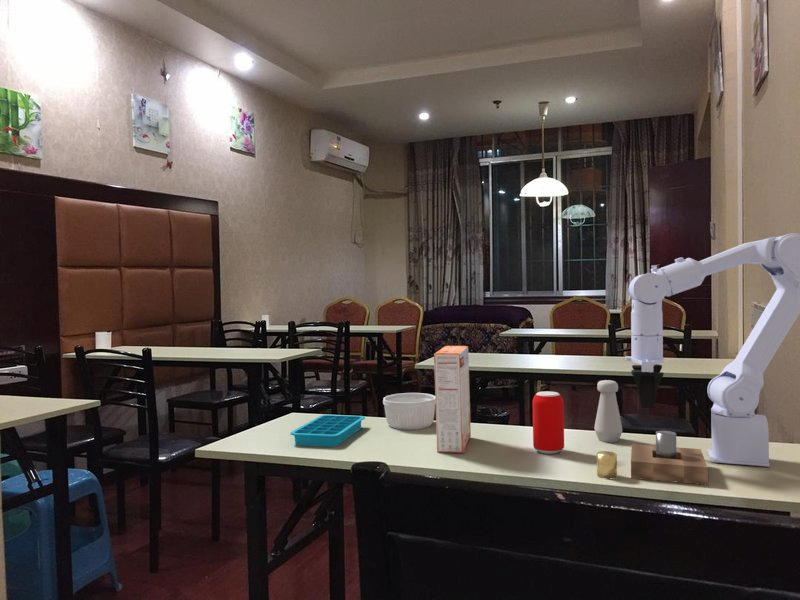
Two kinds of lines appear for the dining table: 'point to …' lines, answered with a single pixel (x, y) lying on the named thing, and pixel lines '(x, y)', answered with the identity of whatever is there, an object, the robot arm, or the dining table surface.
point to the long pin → (666, 444)
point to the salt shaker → (608, 413)
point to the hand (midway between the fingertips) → (647, 404)
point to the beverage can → (548, 422)
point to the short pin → (606, 464)
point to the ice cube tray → (327, 430)
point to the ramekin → (409, 410)
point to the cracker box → (452, 399)
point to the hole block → (669, 465)
